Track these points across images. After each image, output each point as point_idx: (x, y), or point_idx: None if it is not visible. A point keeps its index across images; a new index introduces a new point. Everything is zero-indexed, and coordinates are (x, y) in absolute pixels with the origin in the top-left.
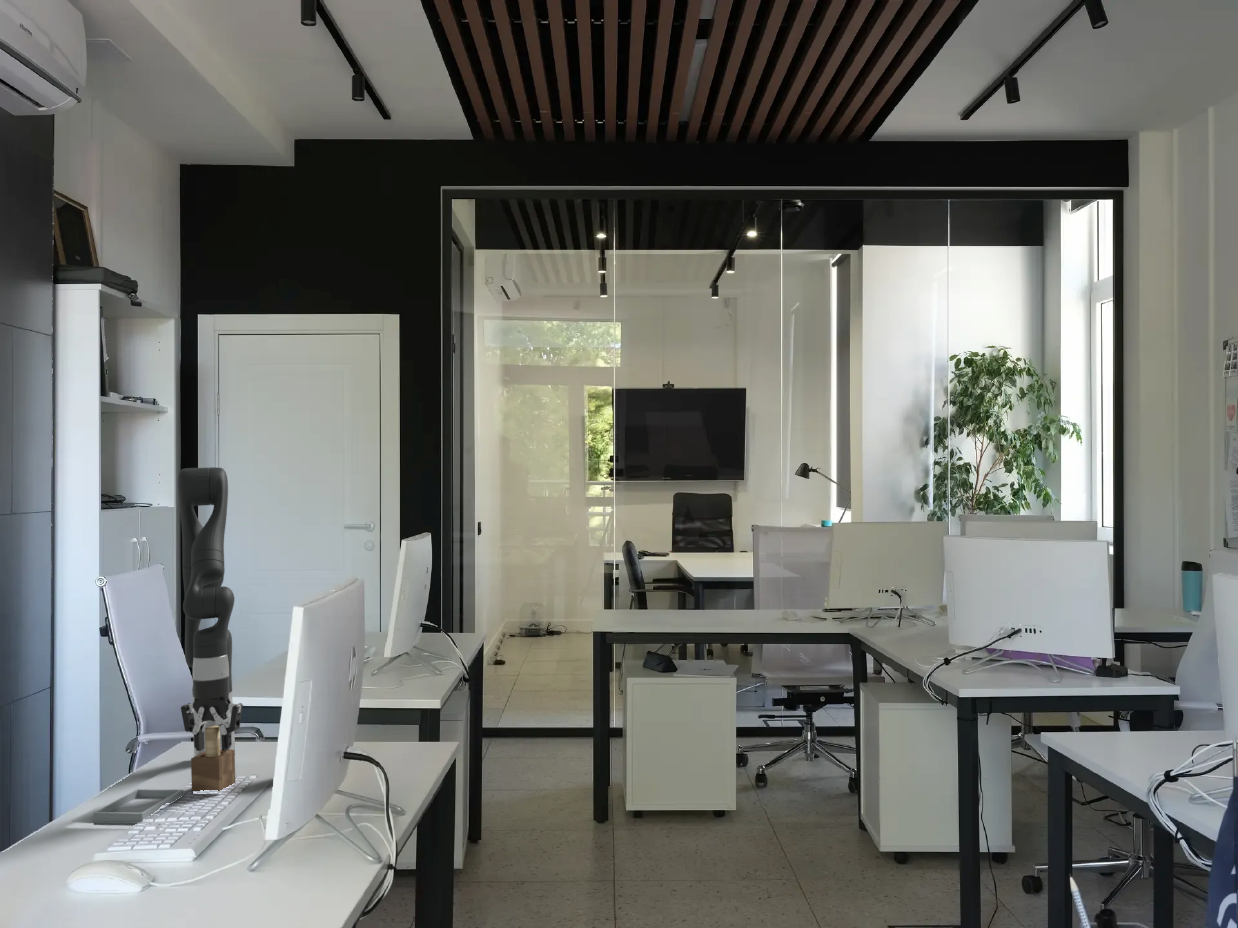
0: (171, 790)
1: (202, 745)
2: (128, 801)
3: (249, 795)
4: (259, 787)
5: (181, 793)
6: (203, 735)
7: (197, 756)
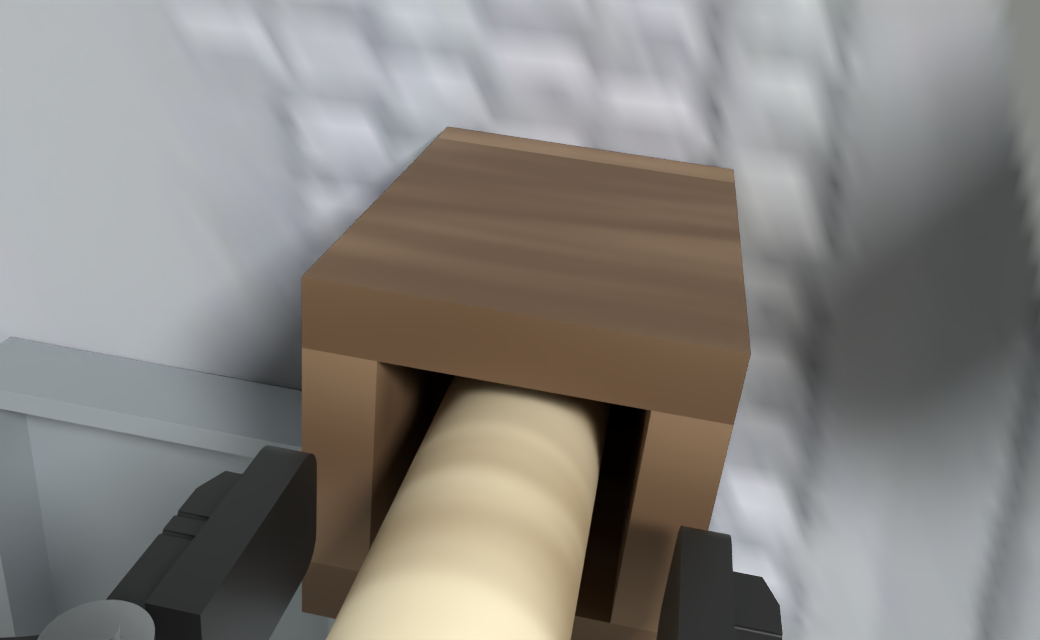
0: None
1: (295, 519)
2: (23, 475)
3: (935, 366)
4: (988, 151)
5: None
6: (228, 594)
7: (337, 550)
